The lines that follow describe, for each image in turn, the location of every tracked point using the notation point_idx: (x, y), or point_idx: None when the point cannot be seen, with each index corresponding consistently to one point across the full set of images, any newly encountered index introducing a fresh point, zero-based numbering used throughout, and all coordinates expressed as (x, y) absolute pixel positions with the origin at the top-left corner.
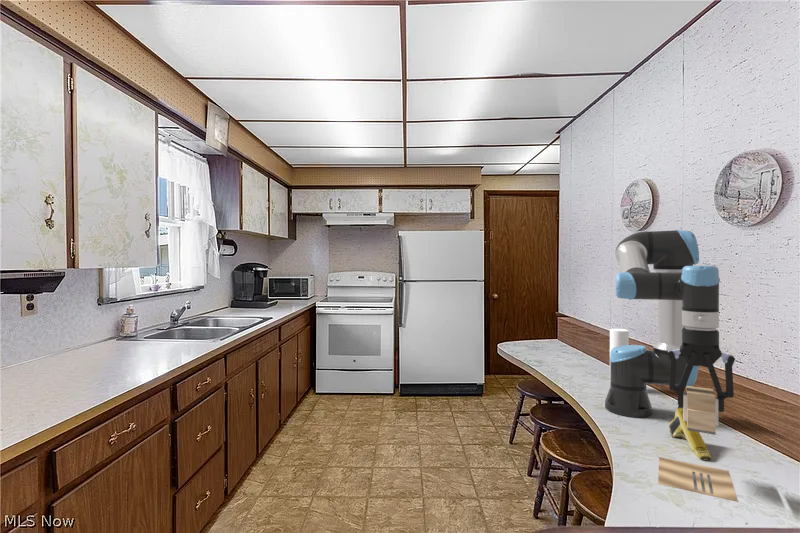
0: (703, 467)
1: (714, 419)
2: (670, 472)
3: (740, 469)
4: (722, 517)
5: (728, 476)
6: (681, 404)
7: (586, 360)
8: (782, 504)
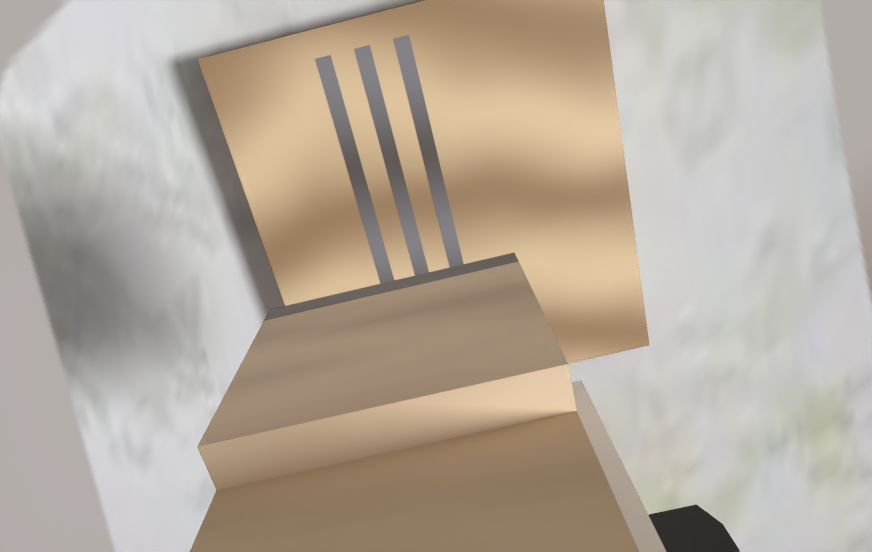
0: None
1: (235, 391)
2: (562, 179)
3: None
4: None
5: None
6: (673, 531)
7: None
8: (77, 272)
